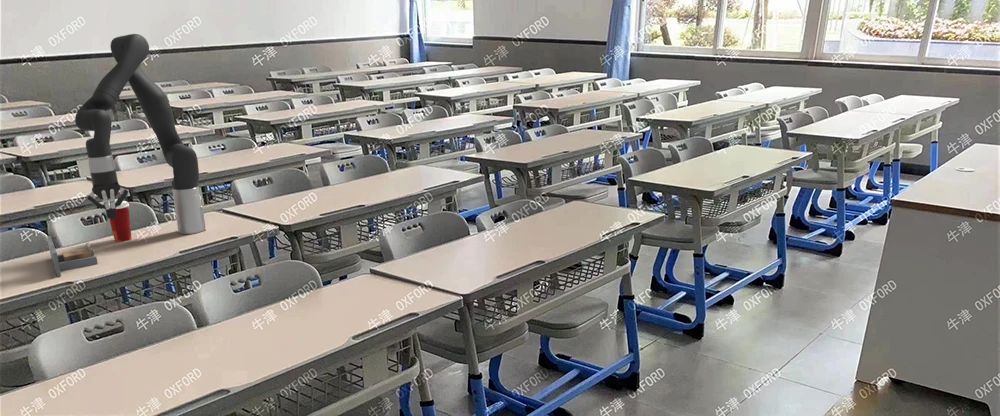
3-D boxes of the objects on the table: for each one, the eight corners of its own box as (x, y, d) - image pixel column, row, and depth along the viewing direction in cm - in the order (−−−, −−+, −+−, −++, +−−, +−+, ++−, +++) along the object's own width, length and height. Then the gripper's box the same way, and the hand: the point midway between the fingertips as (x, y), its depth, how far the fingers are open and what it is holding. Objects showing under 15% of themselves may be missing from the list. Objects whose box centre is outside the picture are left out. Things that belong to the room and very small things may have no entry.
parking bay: (91, 251, 249) (87, 229, 247) (100, 268, 230) (96, 245, 228) (51, 258, 243) (47, 236, 241) (57, 277, 224) (52, 253, 222)
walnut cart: (91, 257, 242) (88, 242, 241) (93, 262, 237) (90, 246, 236) (64, 262, 238) (61, 247, 236) (66, 267, 233) (63, 251, 232)
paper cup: (139, 236, 266) (133, 200, 263) (126, 242, 259) (120, 205, 255) (119, 236, 267) (113, 200, 263) (106, 242, 260) (100, 205, 256)
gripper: (122, 164, 242) (131, 213, 247) (78, 170, 235) (88, 220, 239) (126, 167, 236) (135, 217, 241) (81, 174, 229) (92, 225, 233)
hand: (112, 219), depth 240 cm, fingers closed
